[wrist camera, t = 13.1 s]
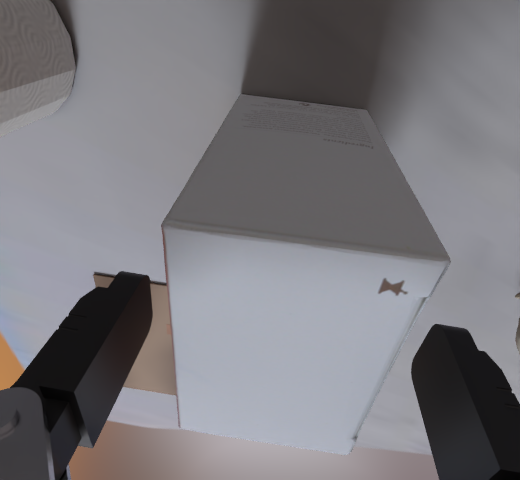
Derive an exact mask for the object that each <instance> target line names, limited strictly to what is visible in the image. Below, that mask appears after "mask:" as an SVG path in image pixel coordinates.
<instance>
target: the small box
mask: <svg viewBox="0 0 520 480" xmlns="http://www.w3.org/2000/svg"><path fill="white" fill-rule="evenodd" d="M161 227H162V234H163V245H164V258H165V272H166V282H167V292H168V304H169V315H170V327H171V336H172V349H173V362H174V372H175V382H176V396H177V408H178V419H179V427H180V428H181V429H186V430H191V431H197V432H201V433H207V434H214V435H220V436H226V437H234V438H240V439H247V440H252V441H258V442H265V443H271V444H278V445H284V446H291V447H297V448H304V449H310V450H316V451H323V452H330V453H337V454H343V455H346V454H350V452H351V451H352V449H353V447H354V444H355V442H356V440H357V437H358V434H359V432H360V430H361V427H362V425H363V423H364V421H365V419H366V417H367V415H368V413H369V411H370V409H371V407H372V405H373V403H374V401H375V399H376V396H377V395H378V393H379V391H380V389H381V387H382V385H383V383H384V381H385V379H386V377H387V375H388V373H389V371H390V369H391V367H392V365H393V363H394V362H395V360H396V358H397V356H398V354H399V352H400V350H401V348H402V346H403V344H404V342H405V341H406V338H407V336H408V334H409V333H410V331H411V329H412V327H413V325H414V324H415V322H416V320H417V318H418V316H419V315H420V313H421V311H422V309H423V307H424V306H425V304H426V302H427V300H428V299H429V298H430V297H431V295H432V294H433V292H434V290H435V288H436V287H437V285H438V283H439V282H440V280H441V278H442V277H443V275H444V273H445V272H446V270H447V269H448V267H449V265H450V263H451V261H450V257H449V255H448V254H447V252H446V250H445V248H444V247H443V245H442V243H441V241H440V240H439V238H438V236H437V234H436V232H435V230H434V229H433V227H432V225H431V223H430V222H429V220H428V218H427V216H426V214H425V212H424V211H423V209H422V207H421V205H420V204H419V202H418V200H417V198H416V197H415V195H414V193H413V191H412V189H411V188H410V186H409V184H408V183H407V181H406V179H405V177H404V175H403V173H402V171H401V170H400V168H399V166H398V164H397V162H396V160H395V159H394V157H393V155H392V154H391V152H390V150H389V148H388V146H387V144H386V143H385V141H384V139H383V137H382V136H381V134H380V132H379V130H378V128H377V127H376V125H375V123H374V121H373V120H372V118H371V116H370V114H369V113H368V111H367V110H365V109H356V108H348V107H340V106H332V105H324V104H316V103H308V102H301V101H293V100H285V99H276V98H268V97H260V96H252V95H245V94H241V95H240V96H239V97H238V99H237V101H236V102H235V104H234V105H233V107H232V109H231V110H230V112H229V114H228V115H227V117H226V118H225V120H224V122H223V124H222V125H221V127H220V129H219V130H218V132H217V134H216V135H215V137H214V138H213V140H212V142H211V144H210V145H209V147H208V148H207V150H206V151H205V153H204V155H203V157H202V159H201V160H200V162H199V163H198V165H197V166H196V168H195V170H194V171H193V173H192V175H191V176H190V178H189V180H188V182H187V183H186V185H185V187H184V189H183V190H182V192H181V193H180V195H179V197H178V198H177V200H176V201H175V203H174V204H173V206H172V208H171V210H170V211H169V213H168V214H167V216H166V218H165V219H164V221H163V222H162V225H161Z"/></svg>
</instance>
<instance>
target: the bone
mask: <svg viewBox="0 0 520 480" xmlns="http://www.w3.org/2000/svg"><path fill="white" fill-rule="evenodd" d="M515 297H516V298H518V299H520V294H517V295H516V296H515ZM515 341H516V345H517V349H518V351H519V354H520V318H519V325H518V328H517V332H516V340H515Z"/></svg>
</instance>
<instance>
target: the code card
mask: <svg viewBox="0 0 520 480" xmlns="http://www.w3.org/2000/svg"><path fill="white" fill-rule="evenodd" d="M93 276H94V281H95V285H96V287H98V286H99V287H105V288H108V287H109V285H110V284H111V282H112V281H113V279H114V278H115V277H110V276H104V275H98V274H94V275H93ZM150 287H151V298H152V310H153V317H152V323H151V327H150V331H149V333H148V335H147V338H146V340H145V342H144V344H143V346H142V348H141V350H140V352H139V354H138V356H137V358H136V360H135V362H134V364H133V366H132V369H131V371H130V373H129V375H128V377H127V379H126V381H125V383H124V385H123V387H127V388H133V389H140V390H146V391H152V392H158V393H164V394H170V395H176V382H175V372H174V362H173V349H172V336H171V327H170V315H169V304H168V292H167V285H162V284H155V283H150Z"/></svg>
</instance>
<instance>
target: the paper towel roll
mask: <svg viewBox="0 0 520 480" xmlns="http://www.w3.org/2000/svg"><path fill="white" fill-rule="evenodd" d="M75 70H76V66H75V60H74V55H73V49H72V43H71V38H70V35H69V33H68V32H67V30H66V28H65V26H64V24H63V22H62V20H61V18H60V16H59V14H58V12H57V10H56V8H55V6H54V4H53V3H52V2H51V1H50V0H0V137H2V136H4V135H7V134H9V133H11V132H13V131H15V130H18V129H20V128H22V127H24V126H26V125H29V124H31V123H33V122H35V121H37V120H40V119H42V118H44V117H46V116H48V115H51V114H53V113H55V112H56V111H57V110H58V109H59V107H60V106H61V105H62V104H63V103H64V101H65V100H66V99H67V98H68V97H69V95H70V94H71V90H72V85H73V80H74V75H75Z"/></svg>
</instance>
